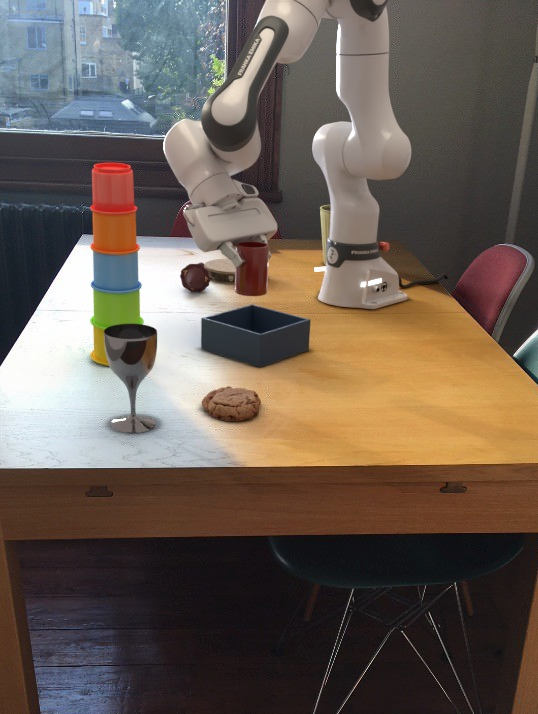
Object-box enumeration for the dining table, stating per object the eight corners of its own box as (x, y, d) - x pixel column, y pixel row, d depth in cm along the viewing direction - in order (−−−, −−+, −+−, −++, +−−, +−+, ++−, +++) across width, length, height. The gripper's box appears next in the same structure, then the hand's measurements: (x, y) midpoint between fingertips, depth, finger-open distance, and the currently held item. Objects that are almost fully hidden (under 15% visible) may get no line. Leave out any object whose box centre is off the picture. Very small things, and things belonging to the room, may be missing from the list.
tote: (251, 333, 183) (252, 304, 180) (308, 350, 175) (310, 319, 172) (201, 349, 173) (201, 317, 170) (259, 367, 164) (261, 334, 161)
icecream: (209, 272, 203) (217, 264, 217) (179, 262, 203) (189, 255, 216) (201, 301, 206) (210, 291, 219) (171, 291, 205) (182, 282, 219)
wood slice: (276, 276, 230) (277, 264, 228) (243, 287, 218) (244, 275, 216) (226, 267, 237) (226, 255, 236) (191, 277, 225) (191, 265, 224)
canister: (254, 286, 173) (256, 240, 169) (273, 294, 169) (275, 246, 165) (228, 290, 170) (229, 242, 166) (246, 297, 166) (248, 249, 161)
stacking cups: (154, 354, 169) (150, 162, 153) (130, 370, 160) (124, 169, 144) (106, 347, 172) (97, 158, 155) (80, 362, 163) (68, 164, 147)
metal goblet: (109, 414, 141) (105, 323, 134) (159, 414, 142) (157, 323, 135) (106, 434, 134) (101, 338, 127) (158, 434, 135) (156, 339, 128)
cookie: (216, 425, 139) (217, 407, 137) (193, 402, 147) (193, 385, 146) (273, 417, 143) (274, 400, 141) (248, 395, 151) (248, 379, 150)
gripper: (187, 195, 158) (226, 259, 157) (261, 185, 172) (297, 244, 171) (170, 217, 162) (208, 280, 161) (243, 206, 176) (278, 264, 175)
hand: (254, 261), depth 166 cm, fingers closed on canister, 6 cm apart
